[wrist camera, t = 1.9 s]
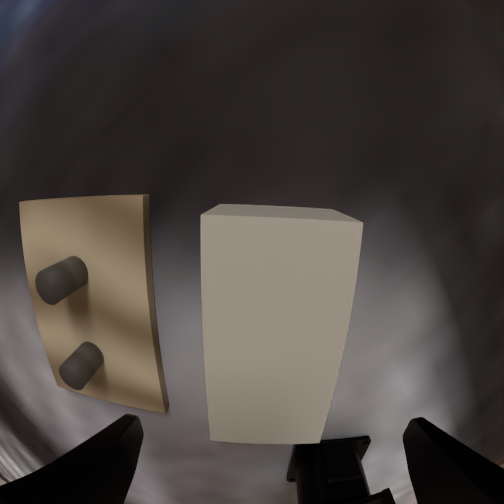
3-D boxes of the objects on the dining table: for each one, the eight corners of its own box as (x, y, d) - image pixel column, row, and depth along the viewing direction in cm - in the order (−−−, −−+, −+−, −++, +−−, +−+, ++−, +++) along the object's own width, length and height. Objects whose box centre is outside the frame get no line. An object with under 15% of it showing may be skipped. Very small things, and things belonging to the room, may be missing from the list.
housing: (309, 389, 18) (319, 442, 13) (221, 386, 18) (210, 440, 13) (332, 209, 15) (363, 222, 10) (220, 203, 15) (200, 214, 10)
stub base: (168, 404, 19) (154, 442, 15) (63, 379, 19) (40, 406, 15) (149, 194, 15) (116, 199, 11) (28, 200, 16) (-11, 207, 12)
